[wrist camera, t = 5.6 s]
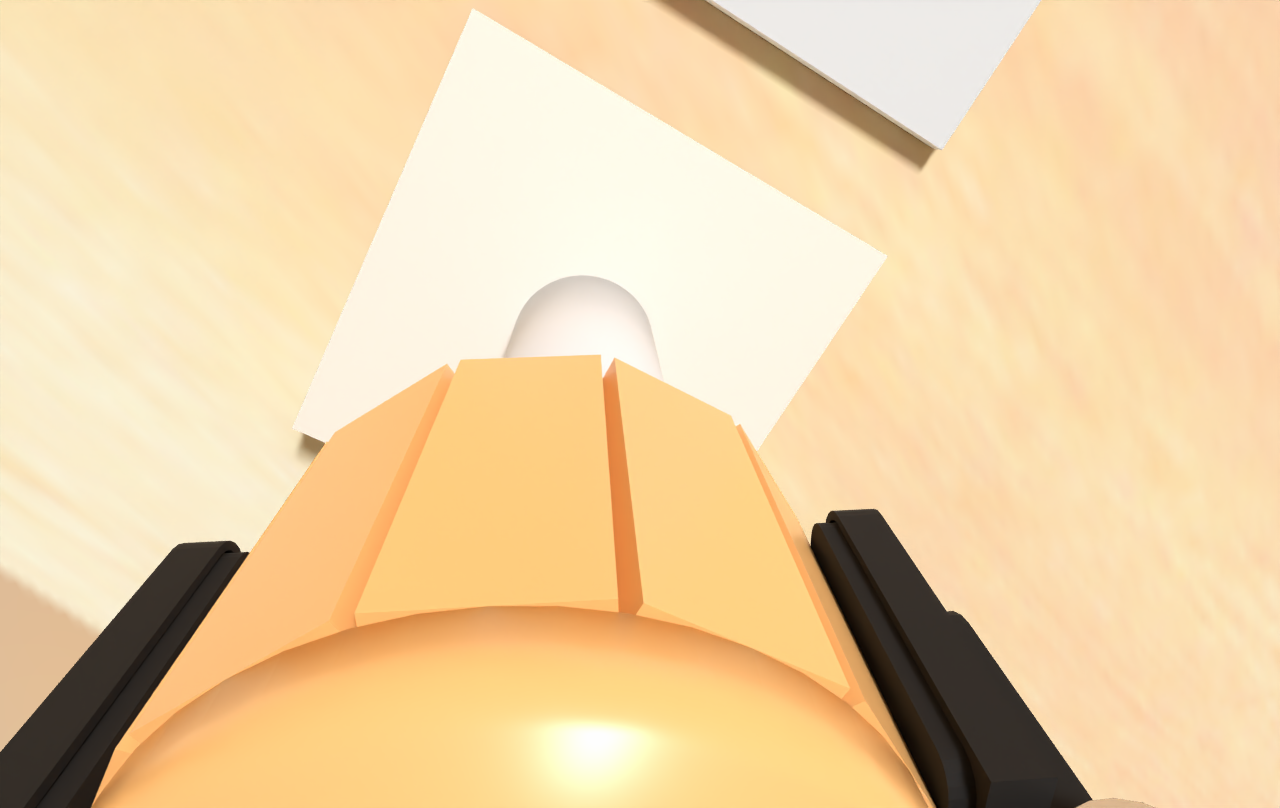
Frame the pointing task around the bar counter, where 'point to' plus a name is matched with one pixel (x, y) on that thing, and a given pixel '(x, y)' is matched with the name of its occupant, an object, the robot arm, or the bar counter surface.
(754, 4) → the mat
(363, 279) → the post block
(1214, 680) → the bar counter surface
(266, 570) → the knob
